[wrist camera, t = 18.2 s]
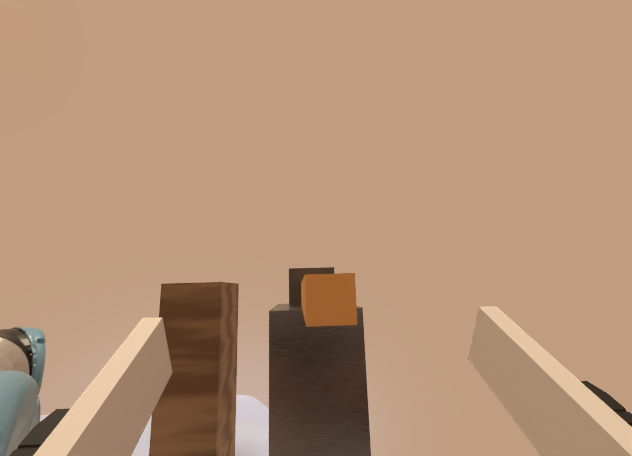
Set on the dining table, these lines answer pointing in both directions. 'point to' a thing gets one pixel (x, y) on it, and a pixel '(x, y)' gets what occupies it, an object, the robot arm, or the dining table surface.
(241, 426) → the dining table surface
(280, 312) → the charcoal post
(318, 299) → the orange bar
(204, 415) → the walnut post
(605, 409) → the robot arm
